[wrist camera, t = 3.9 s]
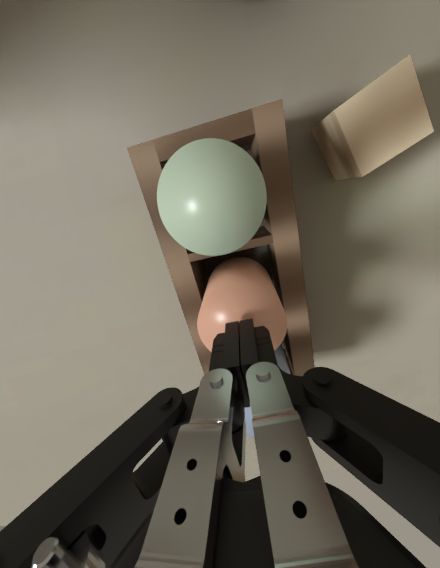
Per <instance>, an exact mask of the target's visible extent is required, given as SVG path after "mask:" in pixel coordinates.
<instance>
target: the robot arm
mask: <svg viewBox="0 0 440 568" xmlns="http://www.w3.org/2000/svg"><path fill="white" fill-rule="evenodd" d="M212 347H213V348H212V353H211V359H210V366H209V372H208V373H207V374H205V375H204V377H203V378H202V380H201V382H200V386H199V387H198V388H196V389H194V390H192V391H189V392H187V393H184V394H182V392H181V391H180V390H179V389H177V388H167V389H164V390H162V391H160V392H159V393H157V394H156V395H155V396H154V397H153V398H152V399H151V400H149V401H148V402H147V403H146V404H145V405H144V406H143V407H141V408H140V409H139V410H138V411H137V412H136V413H135V414H133V415H132V416H131V417H130V418H129V419H128V420H127V421H125V422H124V423H123V424H122V425H121V426H120V427H119V428H118V429H116V430H115V431H114V432H113V433H112V434H111V435H110V436H108V437H107V438H106V439H105V440H104V441H103V442H102V443H100V444H99V445H98V446H97V447H96V448H95V449H94V450H92V451H91V452H90V453H89V454H88V455H87V456H86V457H85V458H83V459H82V460H81V461H80V462H79V463H78V464H77V465H75V466H74V467H73V468H72V469H71V470H70V471H69V472H67V473H66V474H65V475H64V476H63V477H62V478H61V479H59V480H58V481H57V482H56V483H55V484H54V485H53V486H52V487H50V488H49V489H48V490H47V491H46V492H45V493H44V494H42V495H41V496H40V497H39V498H38V499H37V500H36V501H34V502H33V503H32V504H31V505H30V506H29V507H28V508H26V509H25V510H24V511H23V512H22V513H21V514H20V515H19V516H17V517H16V518H15V519H14V520H13V521H12V522H11V523H9V524H8V525H7V526H6V527H5V528H4V529H3V530H1V531H0V568H108V567H109V568H426V567H425V566H424V565H423V564H422V563H421V562H420V561H419V560H418V559H417V558H416V557H415V556H414V555H413V554H412V553H411V552H409V551H408V550H407V549H406V548H405V547H404V546H403V545H402V544H401V543H400V542H399V541H398V540H397V539H396V538H395V537H394V536H393V535H392V534H390V532H388V531H387V530H386V529H385V528H384V527H383V526H382V525H381V524H380V523H379V522H378V521H377V520H376V519H375V518H374V517H373V516H372V515H371V514H370V513H369V512H368V511H367V510H366V509H365V508H364V507H362V506H361V505H360V504H359V503H358V502H357V501H356V500H354V499H353V498H352V497H350V496H349V495H348V494H346V493H345V492H343V491H342V490H340V489H338V488H336V487H335V486H333V485H331V484H328V483H326V482H325V481H324V479H323V476H322V473H321V471H320V468H319V466H318V463H317V460H316V458H315V455H314V452H313V450H312V447H311V445H310V442H309V439H308V437H311V438H312V440H313V441H314V442H315V444H316V445H318V446H319V447H320V448H321V449H322V450H323V451H325V452H326V453H327V454H328V455H330V456H331V457H332V458H333V459H334V460H336V461H337V462H338V463H339V464H340V465H342V466H343V467H344V468H345V469H346V470H348V471H349V472H350V473H351V474H352V475H354V476H355V477H356V478H357V479H358V480H360V481H361V482H362V483H363V484H364V485H366V486H367V487H368V488H369V489H371V490H372V491H373V492H374V493H375V494H376V495H378V496H379V497H380V498H381V499H382V500H384V501H385V502H386V503H387V504H389V505H390V506H391V507H392V508H393V509H394V510H396V511H397V512H398V513H399V514H401V515H402V516H403V517H404V518H406V519H407V520H408V521H409V522H410V523H411V524H413V525H414V526H415V527H416V528H417V529H419V530H420V531H421V532H422V533H423V534H425V535H426V536H427V537H428V538H429V539H431V540H432V541H433V542H434V543H435V544H437V545H438V546H439V547H440V423H439V422H437V421H435V420H433V419H431V418H429V417H427V416H425V415H423V414H421V413H419V412H417V411H415V410H413V409H411V408H409V407H407V406H405V405H403V404H401V403H399V402H397V401H395V400H393V399H391V398H389V397H387V396H385V395H383V394H381V393H378V392H376V391H374V390H372V389H370V388H368V387H366V386H364V385H362V384H360V383H358V382H356V381H354V380H352V379H350V378H348V377H346V376H344V375H342V374H340V373H338V372H336V371H334V370H332V369H329V368H325V367H315V368H311V369H309V370H308V371H306V372H305V373H304V375H303V376H297V375H291V374H288V373H286V372H284V371H283V370H281V369H280V367H279V366H278V364H277V360H276V356H275V352H274V348H273V344H272V340H271V336H270V332H269V330H268V329H267V328H266V327H265V326H259V327H254V323H253V319H252V318H251V319H246V320H240V321H235V322H229V323H226V324H225V332H224V333H219V334H217V335H216V337H215V338H214V340H213V346H212ZM250 404H251V410H252V416H253V419H252V425H253V431H254V438H255V444H256V450H257V457H258V463H259V469H260V476H259V477H256V478H254V479H251V480H249V481H246V482H245V442H246V422H245V408H246V407H250ZM307 436H308V437H307ZM161 438H162V440H163V442H162V443H161V444H160V445H159V446H158V448H157V449H156V450H155V451H154V452H153V453H152V454H151V455H150V456H149V457H148V458H147V459H146V460H145V461H144V462H143V464H142V465H141V466H140V467H139V468H138V469H137V470H136V471H135V472H133V469H134V468H135V466H136V465H137V463H138V462H139V461H140V460H141V459H142V458H143V457H144V456H145V455H146V454H147V453H148V452H149V451H150V450H151V449H152V448H153V447H154V446H155V444H156V443H157V442H158V441H159V440H160V439H161ZM132 472H133V473H132Z"/></svg>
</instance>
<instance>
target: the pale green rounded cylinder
mask: <svg viewBox="0 0 440 568" xmlns="http://www.w3.org/2000/svg"><path fill="white" fill-rule="evenodd" d="M266 203H267V194H266V186H265V181H264V178H263V175H262V173H261V171H260V169H259V167H258V165H257V164H256V162H255V161H254V159H253V158H252V157H251V156H250V155H249V154H248V153H247V152H246V151H245V150H243V149H242V148H241V147H239V146H237V145H236V144H234V143H232V142H229V141H226V140H222V139H216V138H205V139H200V140H196V141H193V142H190V143H188V144H186V145H185V146H183V147H181V148H180V149H179V150H178V151H176V152H175V153H174V154H173V155H172V156H171V157H170V159H169V160H168V162H167V163H166V165H165V166H164V168H163V170H162V173H161V175H160V178H159V182H158V188H157V204H158V210H159V214H160V217H161V220H162V222H163V224H164V226H165V228H166V230H167V231H168V232H169V234H170V235H171V236H172V237H173V238H174V240H175V241H177V242H178V243H179V244H180V245H181V246H183V247H184V248H186V249H188V250H190V251H192V252H195V253H197V254H201V255H207V256H218V255H224V254H228V253H231V252H233V251H235V250H237V249H239V248H241V247H242V246H243V245H245V244H246V243H247V242H248V241H249V240H250V239H251V238H252V237H253V236H254V235H255V233H256V232H257V230H258V229H259V227H260V225H261V223H262V220H263V218H264V214H265V210H266Z"/></svg>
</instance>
